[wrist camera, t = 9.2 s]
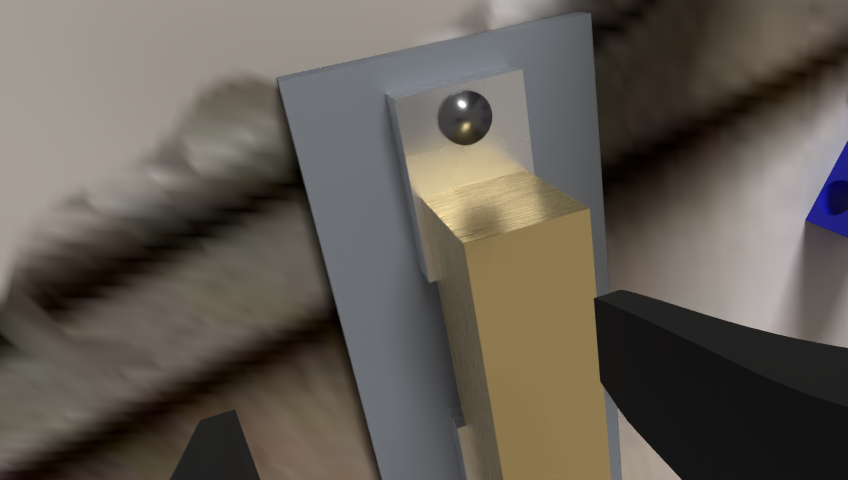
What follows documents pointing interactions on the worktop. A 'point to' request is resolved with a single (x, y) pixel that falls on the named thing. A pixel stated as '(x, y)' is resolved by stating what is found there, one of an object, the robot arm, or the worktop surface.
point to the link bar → (522, 327)
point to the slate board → (390, 224)
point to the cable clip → (833, 199)
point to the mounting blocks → (458, 157)
